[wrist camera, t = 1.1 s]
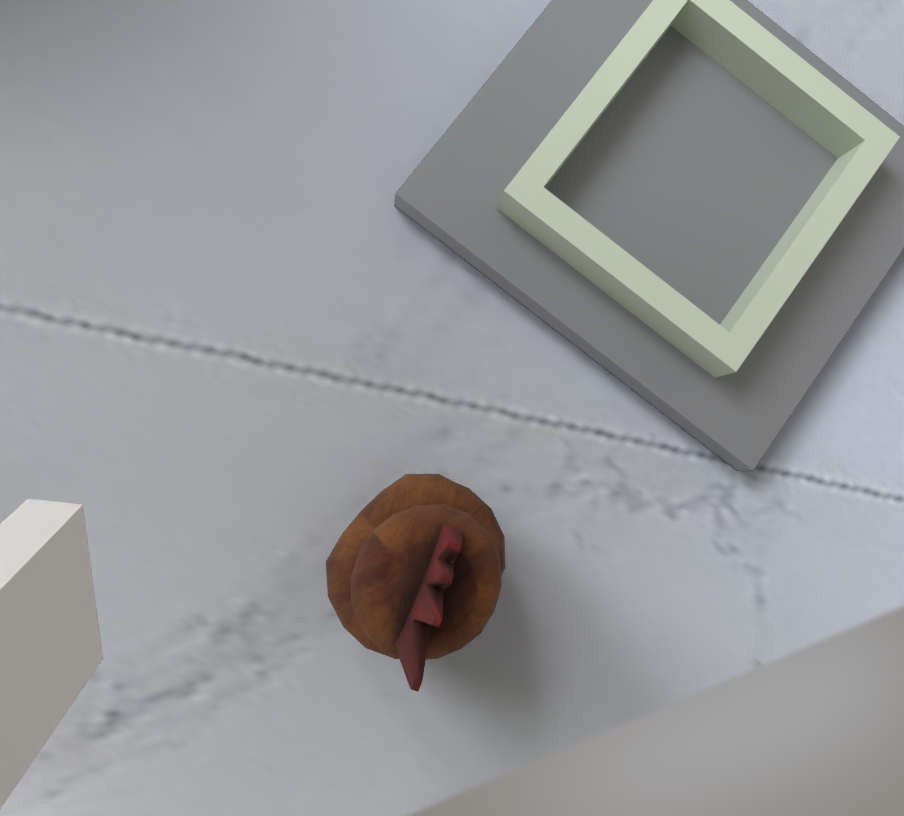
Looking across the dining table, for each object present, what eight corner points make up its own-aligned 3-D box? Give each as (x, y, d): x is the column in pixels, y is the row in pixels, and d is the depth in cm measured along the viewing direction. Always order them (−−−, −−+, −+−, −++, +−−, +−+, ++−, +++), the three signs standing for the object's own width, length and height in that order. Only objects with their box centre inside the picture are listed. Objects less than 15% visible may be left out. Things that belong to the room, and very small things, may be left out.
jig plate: (394, 205, 35) (397, 175, 31) (618, -72, 37) (644, -129, 34) (736, 470, 36) (777, 469, 32) (934, 180, 38) (991, 151, 35)
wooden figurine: (404, 655, 33) (437, 802, 18) (307, 565, 33) (259, 638, 18) (508, 538, 34) (620, 587, 19) (414, 450, 34) (452, 430, 19)
